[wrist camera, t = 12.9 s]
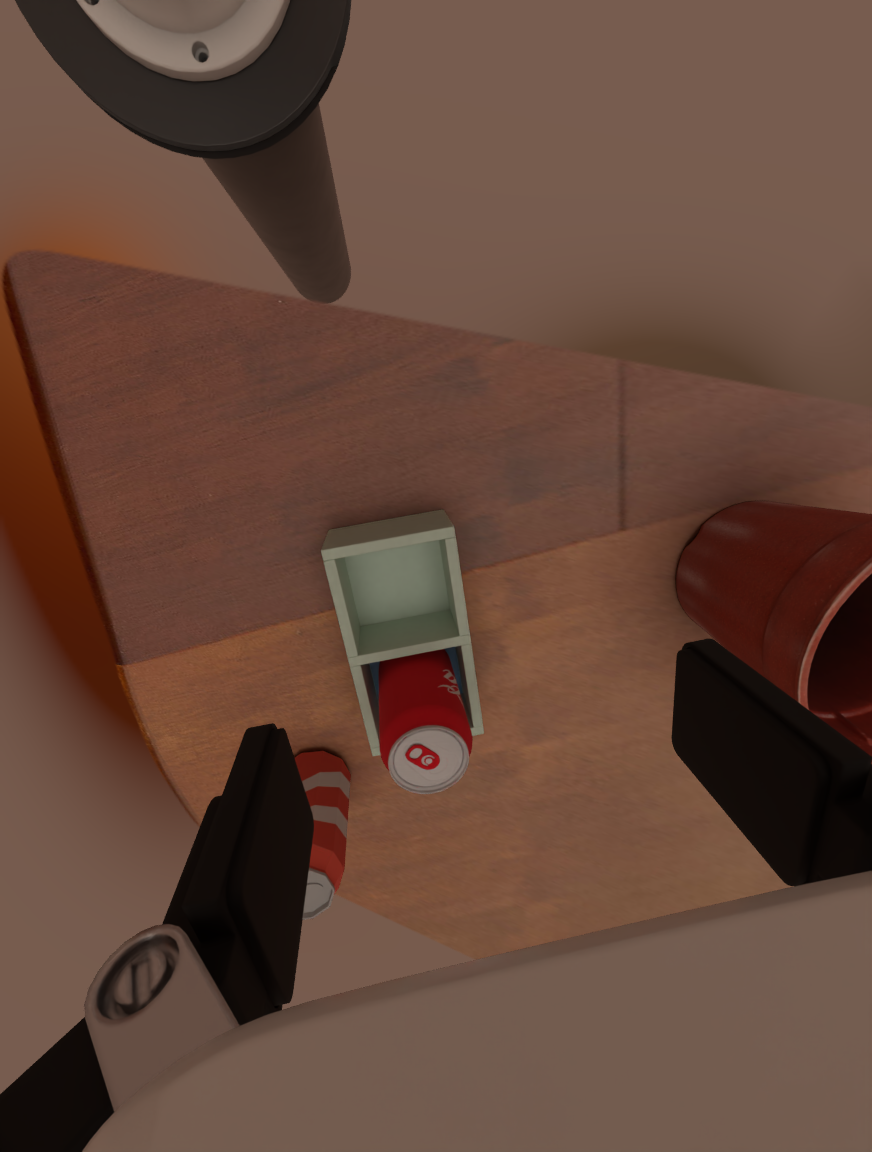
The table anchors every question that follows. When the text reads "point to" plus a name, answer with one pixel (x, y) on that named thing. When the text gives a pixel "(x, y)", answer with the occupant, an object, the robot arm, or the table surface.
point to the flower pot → (790, 602)
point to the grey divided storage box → (400, 603)
